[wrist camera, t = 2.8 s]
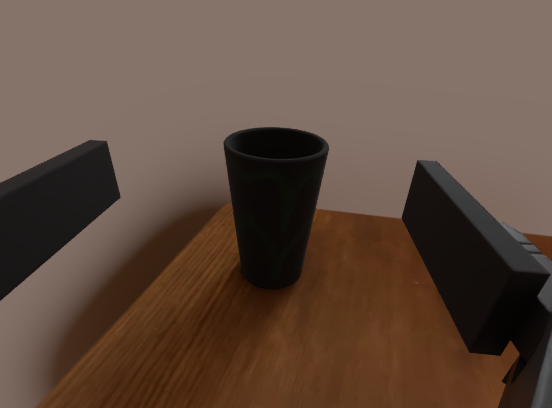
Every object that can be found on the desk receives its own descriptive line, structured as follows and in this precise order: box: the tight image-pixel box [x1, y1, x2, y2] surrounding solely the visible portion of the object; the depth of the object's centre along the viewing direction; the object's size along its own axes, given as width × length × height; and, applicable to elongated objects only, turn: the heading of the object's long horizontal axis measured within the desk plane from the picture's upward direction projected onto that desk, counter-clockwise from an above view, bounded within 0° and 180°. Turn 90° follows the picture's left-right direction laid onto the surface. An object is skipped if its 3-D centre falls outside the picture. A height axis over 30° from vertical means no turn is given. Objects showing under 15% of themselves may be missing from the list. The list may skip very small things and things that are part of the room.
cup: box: [224, 127, 329, 289], centre depth 25 cm, size 8×8×12 cm
